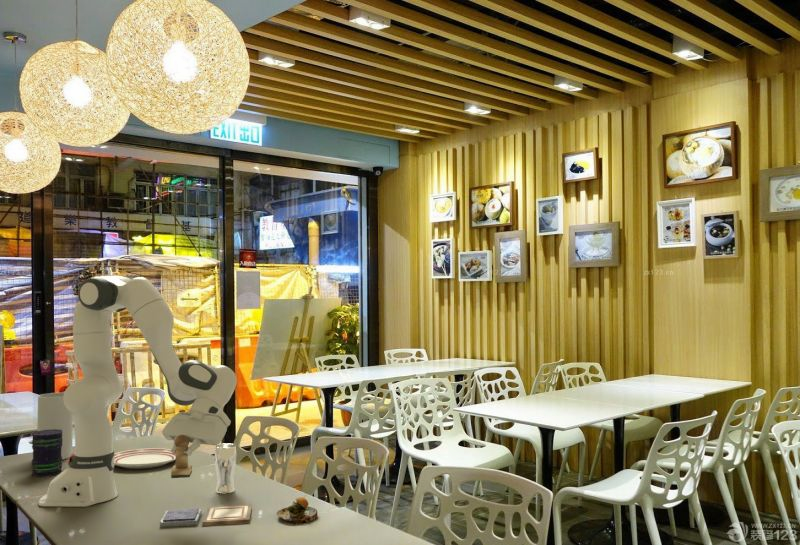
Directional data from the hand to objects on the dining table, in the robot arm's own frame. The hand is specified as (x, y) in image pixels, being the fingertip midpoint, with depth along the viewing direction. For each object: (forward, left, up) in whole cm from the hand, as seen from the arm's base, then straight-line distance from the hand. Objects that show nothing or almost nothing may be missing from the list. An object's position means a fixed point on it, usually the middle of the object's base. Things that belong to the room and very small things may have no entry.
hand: (180, 453), depth 192 cm
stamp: (0, +1, -6) cm, 6 cm away
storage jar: (-56, +62, -19) cm, 85 cm away
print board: (+13, +2, -19) cm, 23 cm away
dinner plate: (-24, +72, -20) cm, 78 cm away
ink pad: (0, +1, -19) cm, 19 cm away
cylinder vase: (-61, +86, -19) cm, 107 cm away
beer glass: (+10, +28, -19) cm, 35 cm away
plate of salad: (+33, -2, -20) cm, 39 cm away
